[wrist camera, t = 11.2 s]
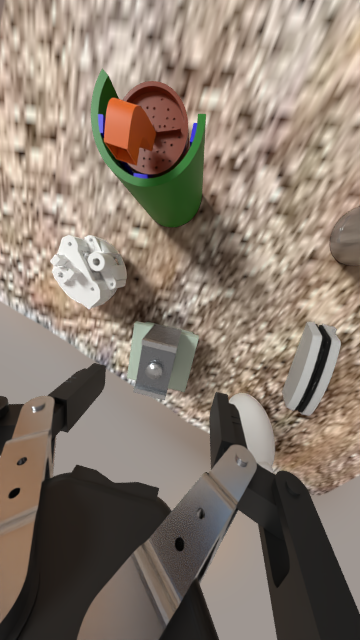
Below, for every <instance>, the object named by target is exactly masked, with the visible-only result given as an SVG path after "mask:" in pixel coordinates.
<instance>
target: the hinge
mask: <svg viewBox="0 0 360 640" xmlns="http://www.w3.org/2000/svg"><path fill="white" fill-rule="evenodd" d="M336 330H337V329H336V328H335V327H333V326H331V327H330V326H328V325H325V324H322V325H319V327H318V326H317V324H315V322H307V323H306V326H305V329H304V331H303V334H302V337H301V340H300V343H299V345H298V348H297V351H296V354H295V357H294V360H293V362H292V365H291V368H290V371H289V374H288V376H287V379H286V382H285V385H284V388H283V391H282V394H283V397H284V401H285V405H286V407H287V408H289V409H290V410H292V411H294V410H297V409H298V411H299V412H300V413H301V414H303V415H308V416H310V415H311V414H312V413H313V411H314V410H315V409H316V407H317V406H318V404H319V402H320V400H321V398H322V397H323V395H324V393H325V391H326V388H327V386H328V384H329V381H330V379H331V376H332V373H333V370H334V367H335V364H336V361H337V357H338V354H339V350H340V345H341V342H340V340H339V338H338V337H337V336H336V334H335V332H336Z"/></svg>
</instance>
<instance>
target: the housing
mask: <svg viewBox="0 0 360 640" xmlns="http://www.w3.org/2000/svg"><path fill="white" fill-rule="evenodd" d="M181 332H182V330H180V329H176V328H171V327H167V326H163V325H159V324H154V325H153V327H152V328H151V329H150V330H149V332H148V333H147V334H146V335H145V337H144V338H143V339H142V343H141V345H142V349H141V355H140V361H139V367H138V373H137V379H136V385H135V387H134V392H135V393H139V394H142V395H146V396H150V397H154V398H158V399H162V400H165V397H166V393H167V390H168V386H169V382H170V378H171V374H172V370H173V366H174V362H175V357H176V353H177V349H178V345H179V340H180V336H181Z"/></svg>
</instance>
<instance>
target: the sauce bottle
mask: <svg viewBox="0 0 360 640" xmlns="http://www.w3.org/2000/svg"><path fill="white" fill-rule="evenodd" d="M229 403H231V404H234V405H235V406H236V408H237V409H238V411H239V414H240V420H241V423H242V427H243V431H244V435H245V440H246V444H247V448H248V450H249V451H250V452H251V453H252V455H253V456H254V458H255V460H256V462H257V463H258V464H259V465H260V466H261V467H263V468H265V469H266V470H268V471H270V472H271V473H273V469H272V465H273V462H274V456H275V440H274V434H273V429H272V425H271V422H270V420H269V417H268V415H267V413H266V411H265V410H264V408H263V407H262V405H261V404H260V403H259V402H258V401H257V400H256V399H255V398H254V397H252V396H251V395H249V394H247V393H238V394H235V395H234V396H232V397H231V398H230V400H229Z"/></svg>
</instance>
